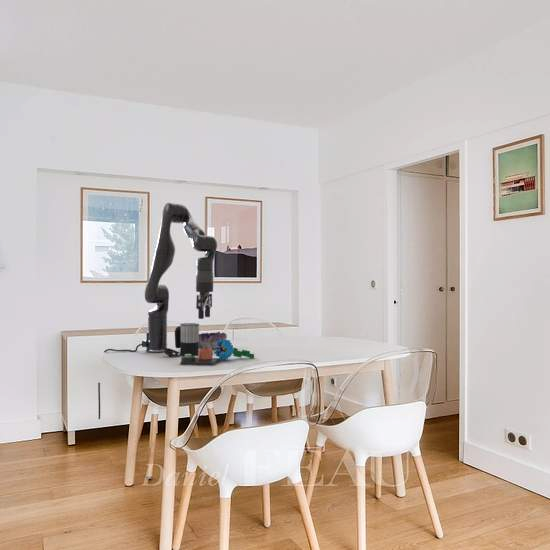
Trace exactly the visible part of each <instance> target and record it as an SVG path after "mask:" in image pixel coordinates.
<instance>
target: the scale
mask: <svg viewBox="0 0 550 550" xmlns="http://www.w3.org/2000/svg"><path fill="white" fill-rule="evenodd" d="M180 358H181V359H180V365H181V366H205V367H206V366H209V367H213V366H214V365H216V364H218V363H220V362H221V360H220V358H219V357H212V359H211V360H199V359H198V357H196V356H191V358H185V356H183V355H182V356H181V357H180Z"/></svg>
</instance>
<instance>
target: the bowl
mask: <svg viewBox="0 0 550 550" xmlns="http://www.w3.org/2000/svg"><path fill="white" fill-rule="evenodd" d="M213 354H214V349H211V348H201V349H198V355H197V358H198V359H199V360H211V359H212V358H213Z"/></svg>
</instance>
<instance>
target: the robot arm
mask: <svg viewBox="0 0 550 550" xmlns="http://www.w3.org/2000/svg"><path fill="white" fill-rule="evenodd" d="M161 213H162V215H161V221H160V228H159V234H158V239H157V244H156V248H155V250H154V251H155V252H154V255H153V261H152V266H151V271H150V273H149V277H148V280H147V283H146V286H145V290H144V300H145V302H146V303H147V304H156V306H155V307H154V308H153V309H150V310H149V311H148V312H147V332H146V338H145V339H144V340H142V341H141V343H139V344H138V345H136V347H135V349H134V350H132V349H114V348H107V349H105V350H104V351H103V353H108V352H109V351H111V352H130V353H135V352H137V351H138V348H139V347H141V348H146V350H145V351H146V353H147V352H149V353H164V349H165V348H168V312H169V305H170V304H169V302H170V291H169V288H168V286H167V285H165V284H160V281H161V279H162V277H163V275H164V274H165V273H166V272H167V271H168V270H169V269H170V268H171V266H172V265H173V262H174V259H175V254H176V246H175V243H174V241H173V238H172V235H171V226H172V223H174V224H181V225H183V231H184V234H185V236H186V237H187V238H188V239H189V240H190V242H191V244H192V245H191V246H192V247H193V250H195V251H196V252H198V253H199V252H201V253H202V252H204V253H205V255H204V256H201V257H198V258H197V259H196V274H195V292H196V293H199V294H196V303H195V305H196V306H195V309H196V310H197V311H198V317H197V318H198V319H199V320H203V319H204V318H210V317H211V309H212V307H213V294H212V293H213V292H214V259H215V256H216V252H217V248H218V241H217V239H216V237H215V236H213V235H206V233H205V231H204V229H202V227H201V226H200V225H199V224H198V223H197V222H196V221H195V219H194V217H193V215H192V214H191V212H190V210H189V209H188V207H187V206H186V205H184V204H183V203H182V204H181V203H175V202H167V203H165V204H164V206H163V209H162V212H161ZM97 394H98V395H97V396H98V420H101V382H98V383H97Z"/></svg>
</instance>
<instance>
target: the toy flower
mask: <svg viewBox="0 0 550 550" xmlns="http://www.w3.org/2000/svg"><path fill="white" fill-rule="evenodd" d="M216 344H217V346H220V348H218V349H214V350H213V354H214V355H215V357H217V358H220V361H227V360H228V359H229V358H231V356H233V357H236V358H242V357H246V358H251V359H255V354H254V353H251V351H250V350H246V349H241V350H238V349H239V348H237V347H234V345H233V344H232V342H231V340H229V339H226V340H225V339H223V341H221V340H220V341H219V342H216Z"/></svg>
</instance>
